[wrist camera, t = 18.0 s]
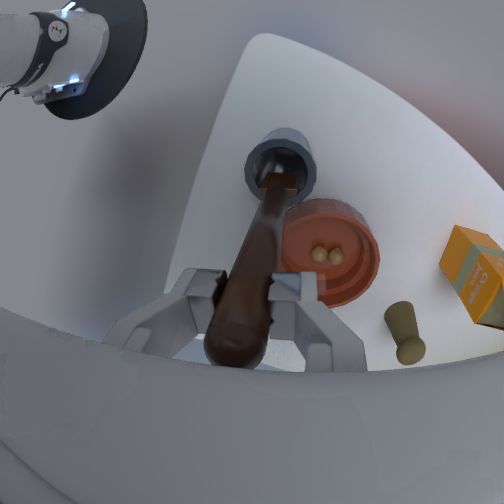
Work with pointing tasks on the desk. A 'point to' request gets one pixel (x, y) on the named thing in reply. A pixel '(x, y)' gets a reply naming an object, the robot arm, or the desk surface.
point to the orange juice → (476, 275)
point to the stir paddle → (251, 282)
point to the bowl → (331, 236)
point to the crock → (282, 162)
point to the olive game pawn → (405, 332)
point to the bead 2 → (336, 256)
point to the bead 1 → (319, 254)
